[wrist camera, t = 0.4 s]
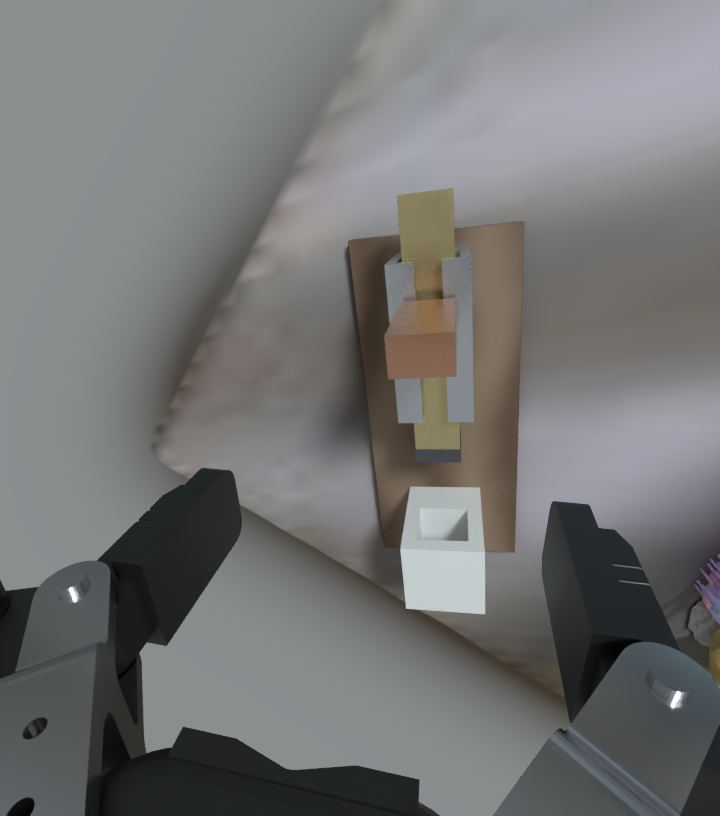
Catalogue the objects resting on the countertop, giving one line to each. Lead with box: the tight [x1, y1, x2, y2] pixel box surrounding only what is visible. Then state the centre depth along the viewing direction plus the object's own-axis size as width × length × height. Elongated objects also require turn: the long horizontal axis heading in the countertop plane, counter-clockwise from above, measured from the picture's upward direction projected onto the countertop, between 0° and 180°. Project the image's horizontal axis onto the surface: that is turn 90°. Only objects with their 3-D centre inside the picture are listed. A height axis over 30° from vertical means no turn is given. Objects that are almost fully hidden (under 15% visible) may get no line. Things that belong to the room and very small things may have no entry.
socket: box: [400, 487, 485, 614], centre depth 38 cm, size 6×6×8 cm
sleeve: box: [384, 244, 474, 423], centre depth 31 cm, size 5×10×7 cm, turn 7°
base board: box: [348, 221, 524, 552], centre depth 38 cm, size 12×28×1 cm, turn 7°
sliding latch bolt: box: [384, 188, 461, 463], centre depth 26 cm, size 3×17×12 cm, turn 7°
